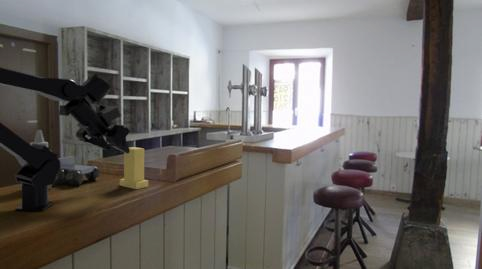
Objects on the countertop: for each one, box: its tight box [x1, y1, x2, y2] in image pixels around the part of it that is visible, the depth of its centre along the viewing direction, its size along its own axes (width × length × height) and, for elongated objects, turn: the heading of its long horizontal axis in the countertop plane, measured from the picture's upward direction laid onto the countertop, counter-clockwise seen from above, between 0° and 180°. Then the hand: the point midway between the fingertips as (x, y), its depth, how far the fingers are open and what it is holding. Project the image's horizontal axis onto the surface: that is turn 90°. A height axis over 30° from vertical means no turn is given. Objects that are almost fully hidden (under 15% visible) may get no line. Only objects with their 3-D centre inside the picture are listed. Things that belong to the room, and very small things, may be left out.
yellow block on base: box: [119, 146, 149, 190], centre depth 114 cm, size 5×8×12 cm, turn 57°
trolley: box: [54, 155, 101, 187], centre depth 116 cm, size 10×11×8 cm
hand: (118, 150), depth 108 cm, fingers open, 9 cm apart
